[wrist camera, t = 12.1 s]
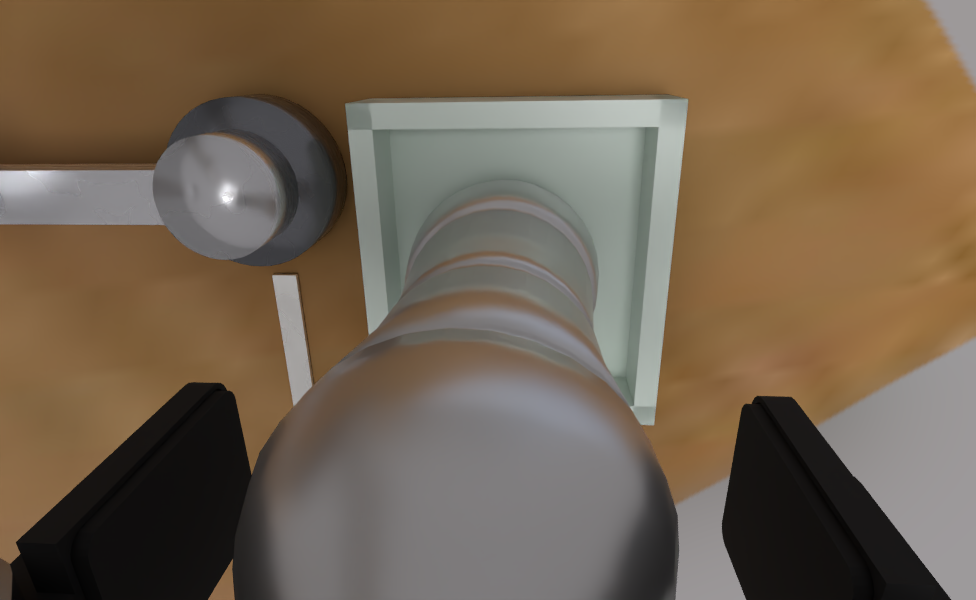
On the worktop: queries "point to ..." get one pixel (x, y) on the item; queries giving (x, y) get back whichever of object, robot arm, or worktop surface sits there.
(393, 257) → the tray
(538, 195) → the metal bottle
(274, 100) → the crank base
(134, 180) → the crank
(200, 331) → the worktop surface
